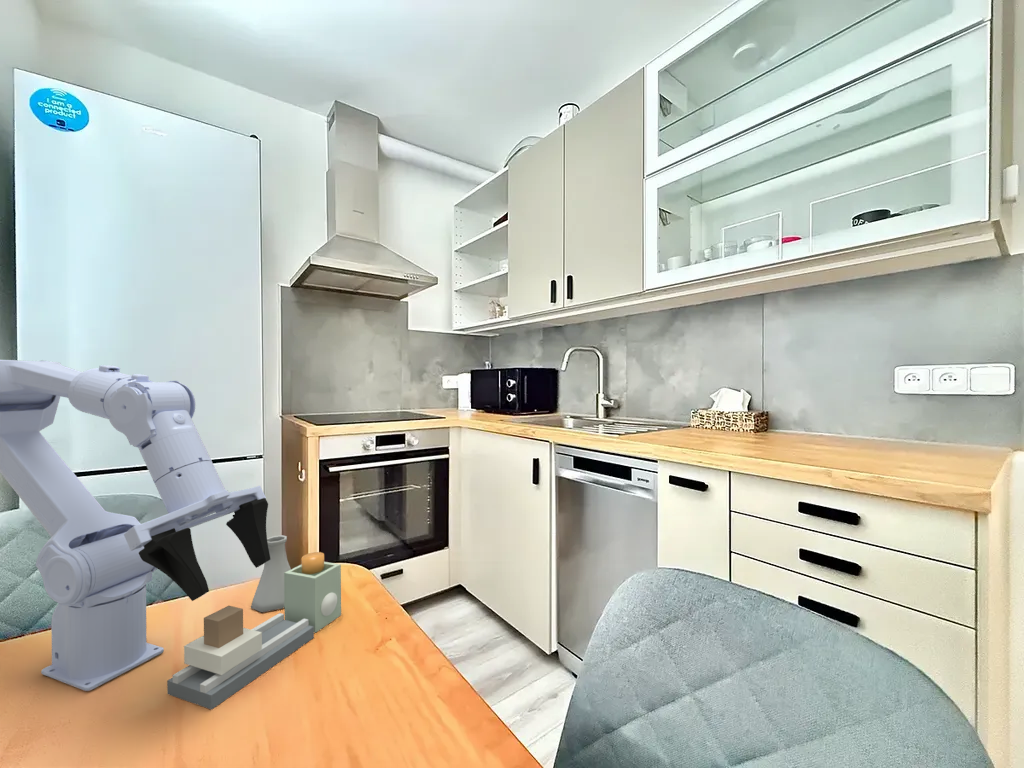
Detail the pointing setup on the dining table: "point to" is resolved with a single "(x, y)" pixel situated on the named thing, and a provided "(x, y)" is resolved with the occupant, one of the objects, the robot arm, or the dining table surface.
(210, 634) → the carriage
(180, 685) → the rail track
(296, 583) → the cabinet
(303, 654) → the dining table surface
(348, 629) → the dining table surface
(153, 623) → the dining table surface
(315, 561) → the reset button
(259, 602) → the flask
